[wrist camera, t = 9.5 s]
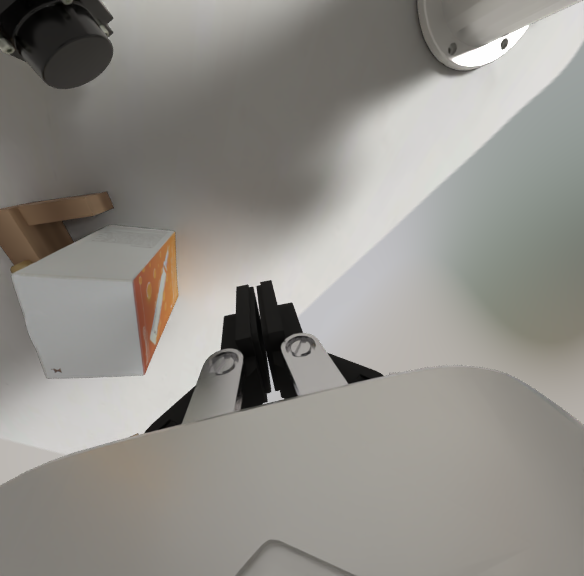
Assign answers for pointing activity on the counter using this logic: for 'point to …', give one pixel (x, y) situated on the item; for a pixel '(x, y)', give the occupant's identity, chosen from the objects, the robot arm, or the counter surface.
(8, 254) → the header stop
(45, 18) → the pneumatic valve
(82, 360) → the small box
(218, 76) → the counter surface
